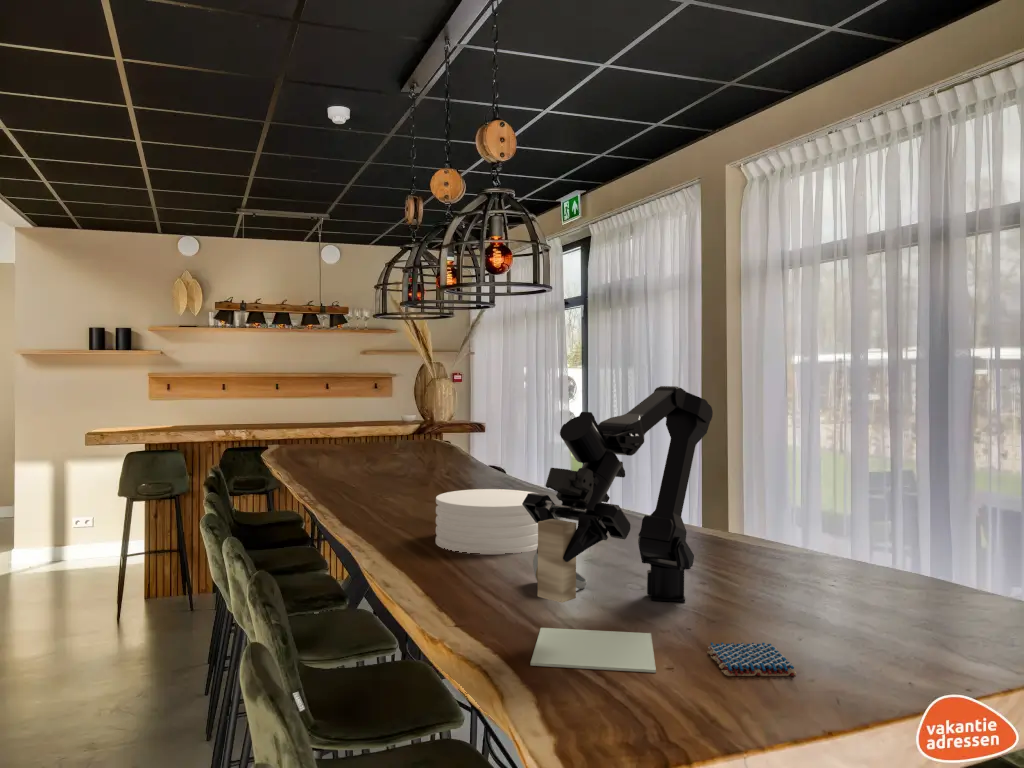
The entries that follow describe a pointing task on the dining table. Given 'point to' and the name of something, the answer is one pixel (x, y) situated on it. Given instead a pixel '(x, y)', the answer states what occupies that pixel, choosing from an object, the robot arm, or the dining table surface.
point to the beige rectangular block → (555, 561)
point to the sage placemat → (594, 650)
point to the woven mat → (750, 660)
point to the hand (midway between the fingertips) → (551, 557)
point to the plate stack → (485, 522)
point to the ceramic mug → (579, 578)
